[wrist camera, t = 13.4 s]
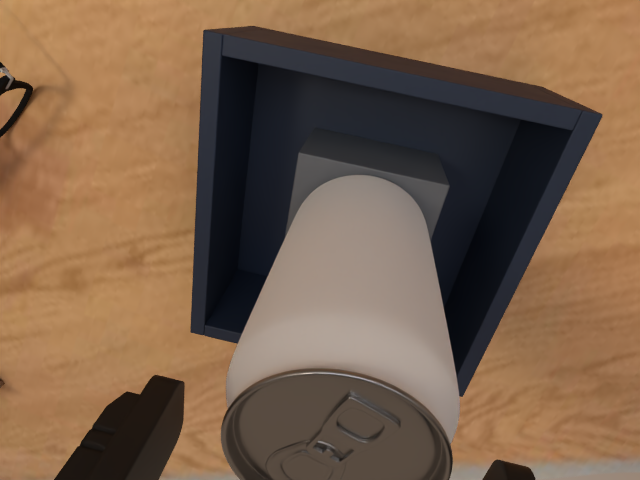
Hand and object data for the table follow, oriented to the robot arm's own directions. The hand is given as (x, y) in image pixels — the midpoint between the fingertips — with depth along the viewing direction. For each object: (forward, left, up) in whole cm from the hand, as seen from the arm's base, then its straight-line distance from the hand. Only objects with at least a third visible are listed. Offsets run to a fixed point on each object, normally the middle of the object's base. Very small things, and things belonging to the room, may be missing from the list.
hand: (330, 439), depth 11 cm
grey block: (0, 0, -16) cm, 16 cm away
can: (0, 0, -12) cm, 12 cm away
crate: (0, 0, -17) cm, 17 cm away
